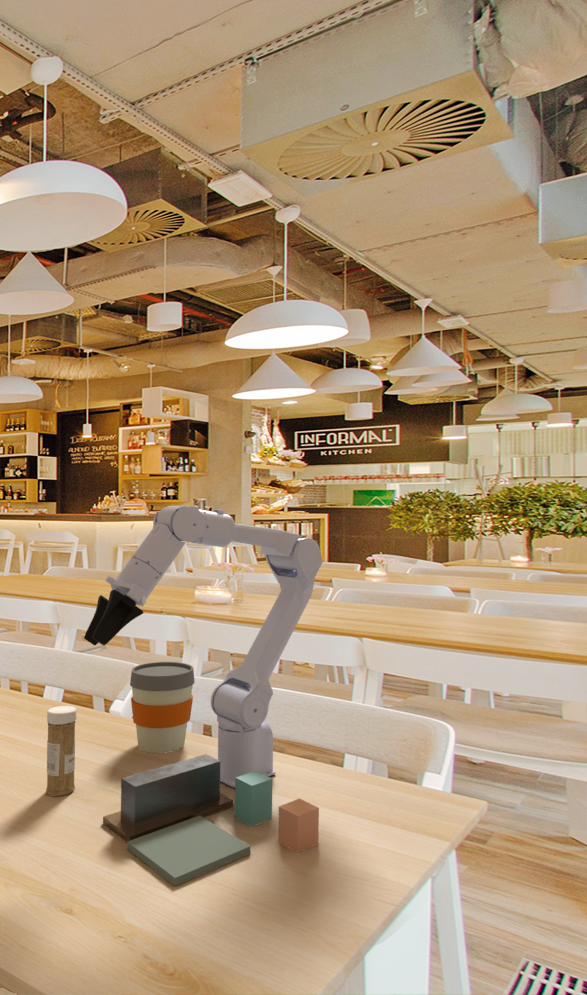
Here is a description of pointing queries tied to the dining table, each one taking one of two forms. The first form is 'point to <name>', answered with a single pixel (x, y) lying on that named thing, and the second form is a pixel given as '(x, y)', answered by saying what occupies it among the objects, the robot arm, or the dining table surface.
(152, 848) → the pad
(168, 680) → the reusable coffee cup
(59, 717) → the spice jar
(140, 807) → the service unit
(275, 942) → the dining table surface
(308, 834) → the terracotta block
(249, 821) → the block
